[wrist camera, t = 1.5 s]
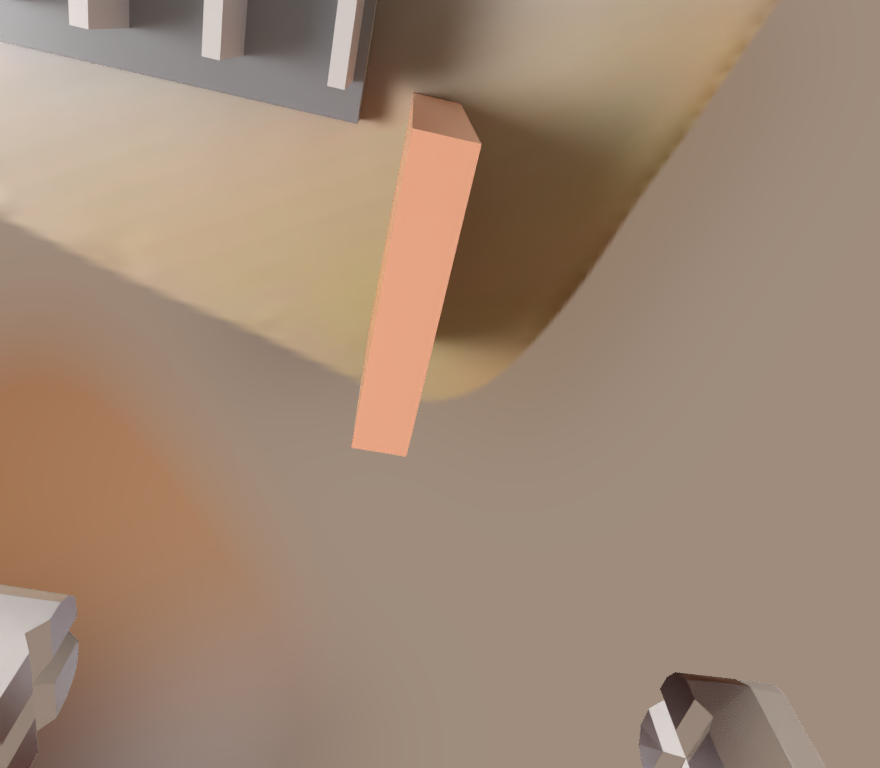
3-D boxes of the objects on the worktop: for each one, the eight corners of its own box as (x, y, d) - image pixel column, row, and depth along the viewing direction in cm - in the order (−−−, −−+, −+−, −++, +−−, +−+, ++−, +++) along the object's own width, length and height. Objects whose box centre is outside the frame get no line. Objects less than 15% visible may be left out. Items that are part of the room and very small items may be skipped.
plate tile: (413, 92, 27) (412, 128, 18) (460, 103, 27) (481, 144, 19) (368, 330, 32) (351, 447, 23) (408, 338, 32) (406, 456, 24)
